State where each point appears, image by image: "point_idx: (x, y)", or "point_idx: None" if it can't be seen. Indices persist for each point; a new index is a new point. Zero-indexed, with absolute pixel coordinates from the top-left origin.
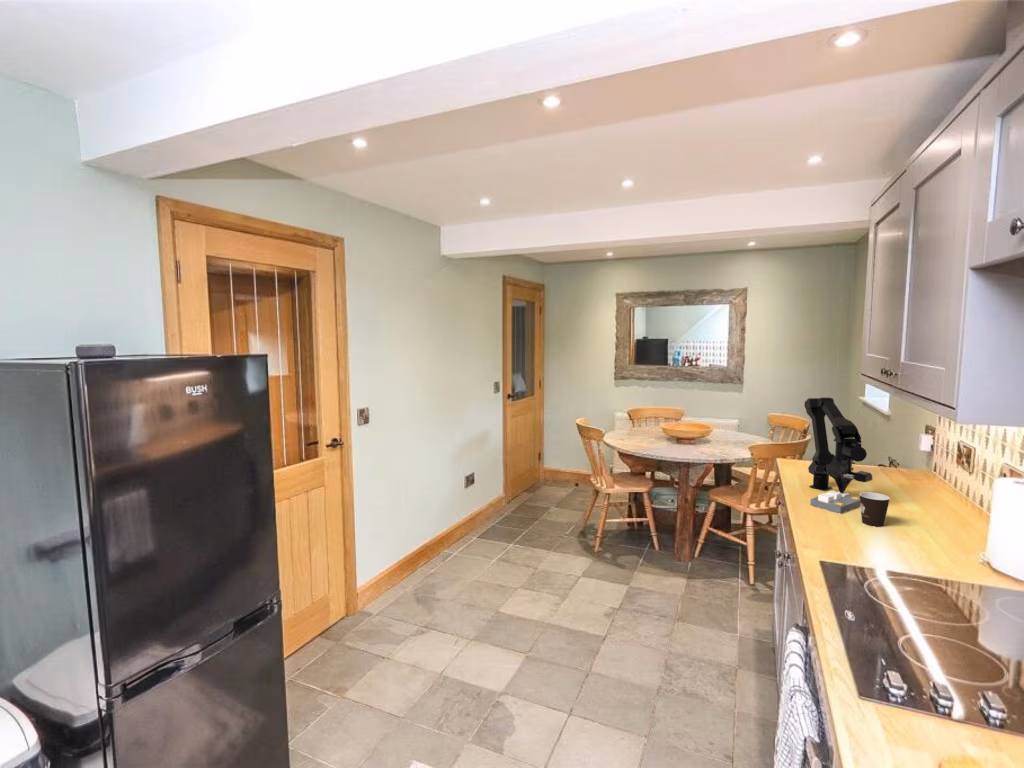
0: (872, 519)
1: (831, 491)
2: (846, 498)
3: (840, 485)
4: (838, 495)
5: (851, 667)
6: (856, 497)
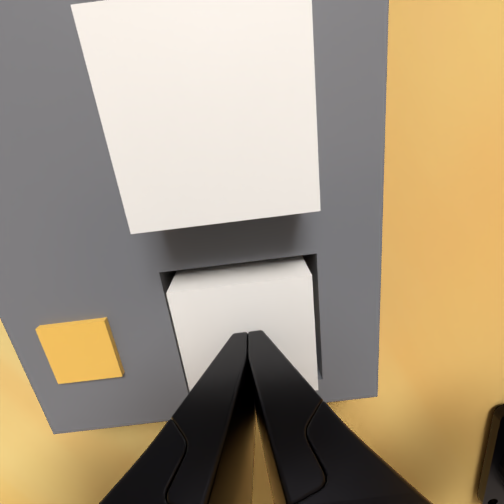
0: None
1: (289, 152)
2: (119, 256)
3: (264, 424)
4: (105, 102)
5: None
6: (90, 377)
